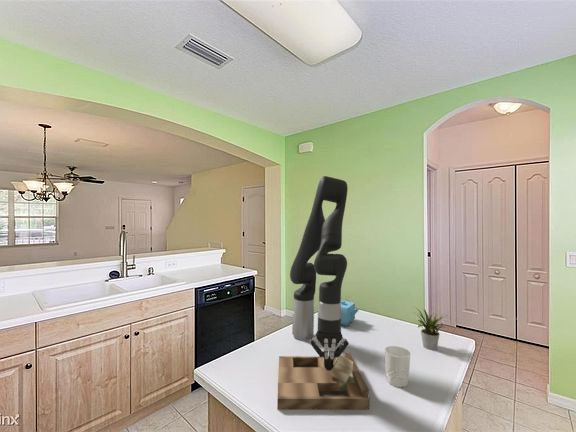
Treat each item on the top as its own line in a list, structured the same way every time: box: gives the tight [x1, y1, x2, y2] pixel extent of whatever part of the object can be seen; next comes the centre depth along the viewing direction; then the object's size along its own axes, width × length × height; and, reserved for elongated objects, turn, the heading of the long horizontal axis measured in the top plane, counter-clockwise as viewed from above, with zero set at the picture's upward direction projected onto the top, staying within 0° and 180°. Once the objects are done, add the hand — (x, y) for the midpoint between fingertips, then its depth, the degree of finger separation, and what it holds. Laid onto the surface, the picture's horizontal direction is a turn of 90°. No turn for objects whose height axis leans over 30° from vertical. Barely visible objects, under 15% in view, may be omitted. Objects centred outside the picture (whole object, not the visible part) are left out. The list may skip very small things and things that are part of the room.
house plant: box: [413, 306, 447, 351], centre depth 119 cm, size 14×14×16 cm
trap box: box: [276, 352, 370, 410], centre depth 91 cm, size 26×24×5 cm
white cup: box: [384, 345, 411, 388], centre depth 93 cm, size 8×8×10 cm
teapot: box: [341, 300, 360, 328], centre depth 145 cm, size 16×18×11 cm
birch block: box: [331, 354, 353, 383], centre depth 89 cm, size 5×5×5 cm
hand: (328, 369), depth 91 cm, fingers closed
